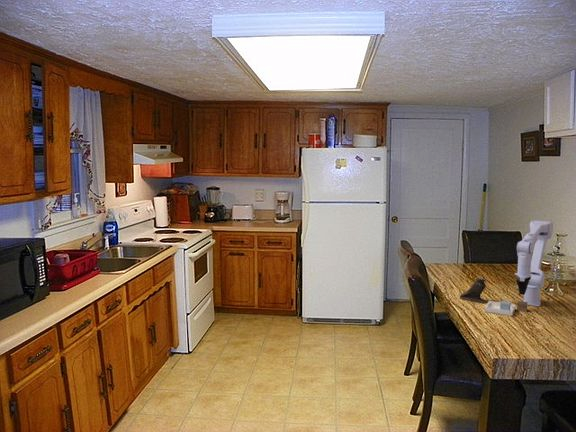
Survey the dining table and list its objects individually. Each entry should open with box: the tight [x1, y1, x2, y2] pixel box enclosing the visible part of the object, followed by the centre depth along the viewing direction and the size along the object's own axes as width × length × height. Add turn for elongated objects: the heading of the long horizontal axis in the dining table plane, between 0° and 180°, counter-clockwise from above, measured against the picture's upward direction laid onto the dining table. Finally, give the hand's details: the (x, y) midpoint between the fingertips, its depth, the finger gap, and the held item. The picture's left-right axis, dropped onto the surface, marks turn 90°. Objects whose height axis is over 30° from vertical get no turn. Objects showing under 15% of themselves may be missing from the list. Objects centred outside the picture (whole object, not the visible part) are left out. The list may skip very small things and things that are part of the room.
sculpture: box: [459, 277, 487, 305], centre depth 235 cm, size 6×13×13 cm, turn 43°
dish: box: [484, 300, 516, 317], centre depth 218 cm, size 12×12×2 cm
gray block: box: [500, 300, 512, 311], centre depth 217 cm, size 4×4×4 cm
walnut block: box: [516, 300, 528, 313], centre depth 219 cm, size 4×4×4 cm
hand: (522, 292), depth 218 cm, fingers open, 7 cm apart
